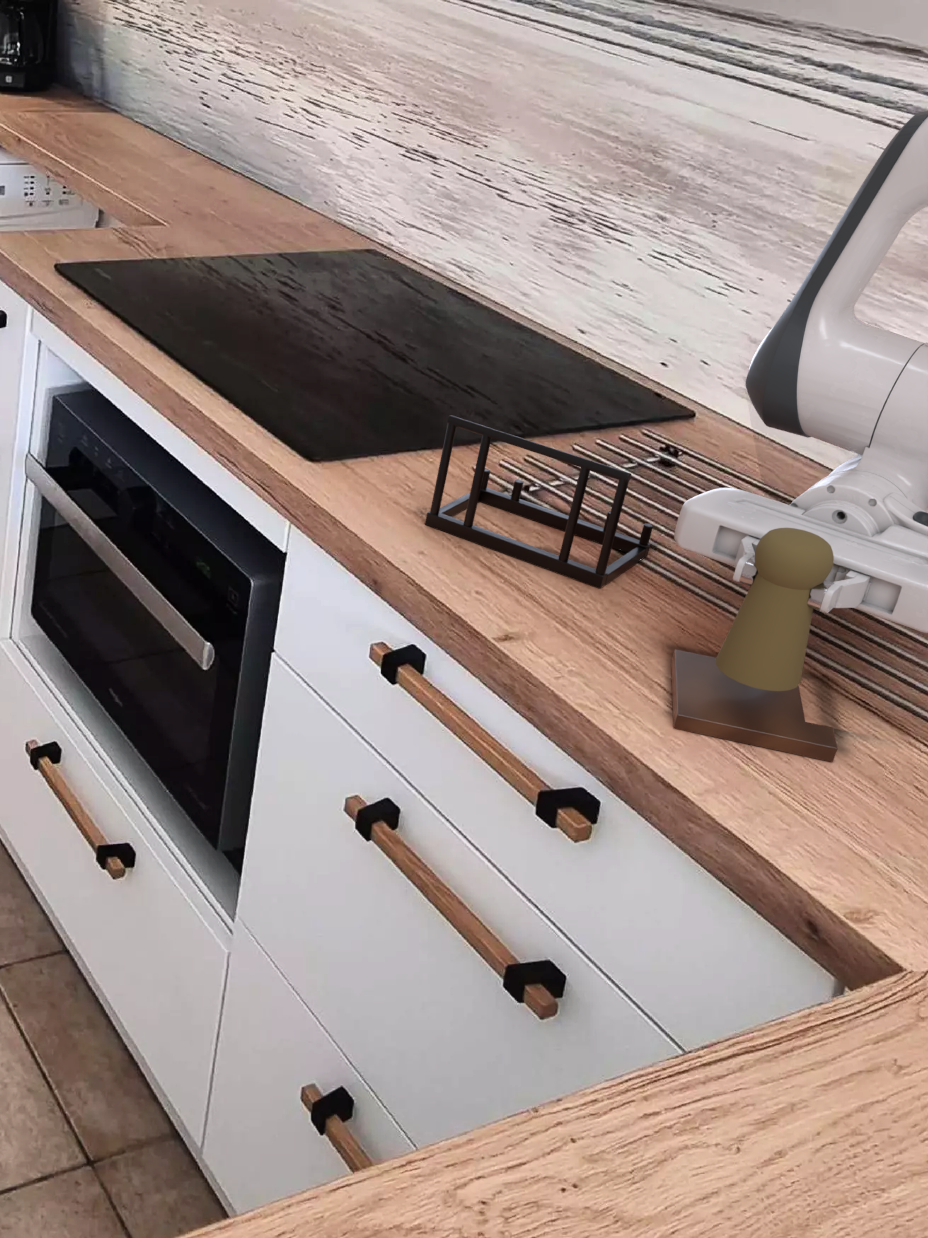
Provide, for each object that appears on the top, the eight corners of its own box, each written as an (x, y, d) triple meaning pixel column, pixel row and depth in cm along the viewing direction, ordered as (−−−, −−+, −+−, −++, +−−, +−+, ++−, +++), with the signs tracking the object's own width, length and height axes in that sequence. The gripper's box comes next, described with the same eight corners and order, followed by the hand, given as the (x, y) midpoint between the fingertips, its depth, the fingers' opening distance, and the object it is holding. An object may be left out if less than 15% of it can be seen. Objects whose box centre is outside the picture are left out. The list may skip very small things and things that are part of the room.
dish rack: (477, 496, 158) (499, 392, 153) (647, 556, 149) (677, 447, 144) (424, 524, 151) (446, 416, 146) (600, 589, 141) (629, 475, 137)
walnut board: (818, 692, 128) (823, 679, 127) (833, 762, 119) (837, 748, 118) (670, 662, 130) (674, 648, 130) (673, 728, 121) (677, 714, 120)
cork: (816, 691, 121) (863, 554, 116) (740, 691, 120) (784, 553, 115) (774, 650, 126) (816, 518, 121) (700, 650, 125) (740, 517, 120)
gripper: (723, 456, 133) (654, 500, 123) (995, 541, 122) (942, 597, 112) (703, 528, 136) (634, 577, 126) (966, 617, 125) (912, 678, 115)
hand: (781, 587), depth 119 cm, fingers closed on cork, 4 cm apart
